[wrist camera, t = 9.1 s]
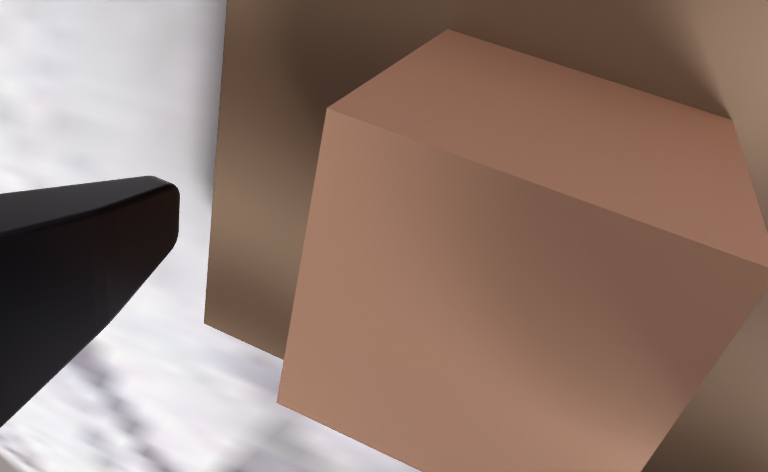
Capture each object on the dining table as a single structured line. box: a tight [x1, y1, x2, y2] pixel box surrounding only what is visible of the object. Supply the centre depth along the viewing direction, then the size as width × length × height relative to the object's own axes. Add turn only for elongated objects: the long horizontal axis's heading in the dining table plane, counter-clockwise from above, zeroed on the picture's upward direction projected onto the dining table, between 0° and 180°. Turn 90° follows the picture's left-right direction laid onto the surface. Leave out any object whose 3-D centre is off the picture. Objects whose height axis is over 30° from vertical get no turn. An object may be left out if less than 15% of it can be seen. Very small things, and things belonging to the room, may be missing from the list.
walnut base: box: [204, 0, 768, 472], centre depth 13 cm, size 14×14×3 cm
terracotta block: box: [277, 29, 768, 472], centre depth 10 cm, size 5×5×5 cm
